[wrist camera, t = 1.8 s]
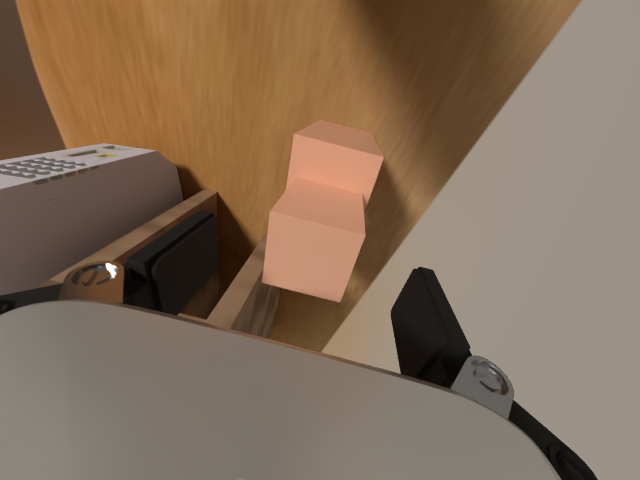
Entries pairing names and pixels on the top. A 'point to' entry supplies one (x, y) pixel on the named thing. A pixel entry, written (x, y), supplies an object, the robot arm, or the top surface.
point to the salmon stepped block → (322, 210)
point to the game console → (76, 206)
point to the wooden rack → (237, 302)
